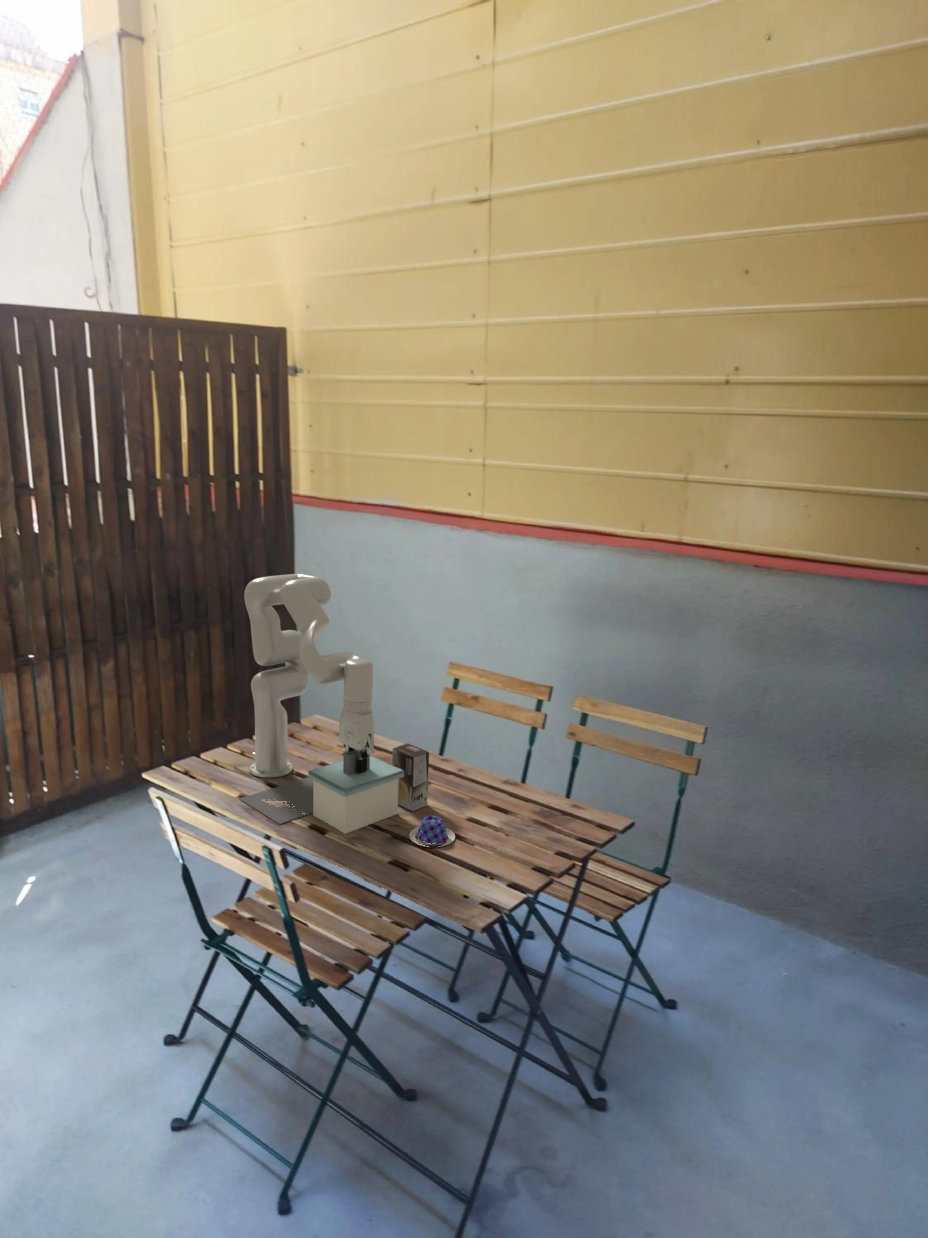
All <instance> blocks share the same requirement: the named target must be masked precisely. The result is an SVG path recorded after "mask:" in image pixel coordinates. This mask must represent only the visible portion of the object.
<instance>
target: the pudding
mask: <svg viewBox="0 0 928 1238" xmlns="http://www.w3.org/2000/svg"><path fill="white" fill-rule="evenodd" d="M417 831H418V833H417V835H416V836H417V837H416V839H418V838H419V840H420V841H422V842H423V841H425V842H426V843H431V844H432V843H436V844H439V843H441V842H442V843H445V841H446V842H447V843H445V845H442V846H438V847H440V848H441V847H444V846H447V845H450V844H451V843H453V842H454V840H455V839H456V835H455V833H454V831H453V830H451V829H450V828H447V826H446V823H445V820H444V819H443V818H441V817H440V816H439V815H436V816H435V815H429V816H428V815H427V816H425V817H423V818H422V819H421V821H420V823H419V826H417V827H415V828H413V829H412V830H410V832H409V834H408V836H409V839H410V840H411V841H412V842H413V843H415V844H417V845H419V846H421V847H427V848H430V847H429V846H425V845H422V844H423V843H422V844H419V843H418V842H416V841H415V840H414V838H412V837H414V836H413V835H414V834H415V833H416V832H417ZM442 843H441V844H442ZM432 845H433V844H432ZM439 845H440V844H439ZM438 847H437V848H438Z"/></svg>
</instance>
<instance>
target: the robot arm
mask: <svg viewBox="0 0 928 1238" xmlns="http://www.w3.org/2000/svg"><path fill="white" fill-rule="evenodd" d="M243 594H244V595H243V597H244V603H245V604H244V605H245V607H246V608H245V609H246V611H247V614H248V617H249V621H250V631H251V633H250V634H251V642H252V654H253V658H254V661H255V662H256V663H257V664H258V665H260V666H263V667H264V666H265V667H269V666H275V665H279V664H284V663H285V666H281V667H276V668H271V669H265V670H263V671H262V670H261V671H260V672H258V673H257V674H255V675H254V676H253V677H252V679H251V683H250V690H251V695H252V699H253V706H254V707H253V708H254V739H255V740H254V744H255V745H254V749H255V751H254V752H252V753H251V756H252V757H253V758H254V762H253V763H252V764H251V765H250V767H249V770H250V773H251V774H252V775H253V776H256V777H260V778H266V779H267V778H268V779H269V778H270V779H271V778H273V779H274V778H280V777H284V776H286V775H288V774H290V773H291V772H292V771H293V763H291V762H290V761H289V760H288V712H287V710H286V709H285V707H284V706H283V704H282V703H281V701H282V700H286V699H289V698H294V697H298V696H302V695H303V694H305V693H306V692H307V691H308V689H309V680H310V679H309V676H310V678H311V680H313V681H314V683H316V684H319V685H327V684H328V685H329V684H332V683H338V682H340V681H341V682H343V706H342V708H341V712H340V716H339V724H338V725H339V726H338V741H339V742H340V743H341V744H343V747H344V753H346V752H350V751H353V750H358V759H357V760H356V773H358V774H359V773H363V772H366V771H367V758H369V756H370V755H373V754H375V753H376V751H375V747H374V744H375V724H374V723H375V722H374V716H373V715H374V714H373V712H372V711H373V685H374V684H373V683H374V682H373V680H374V676H373V675H374V665H373V662H372V661H371V660H370V659H367V658H364V657H361V656H359V655H358V654H357V653H355V652H353V651H341V652H336V653H330V654H325V655H321V654H320V652H319V650H318V649H317V647H316V645H315V642H314V639H316V638H318V637H319V636H321V634H323V633H324V632H325V630H326V629H327V628H328V626H329V624H330V619H329V616H328V615H327V613H326V611H325V610H324V608H323V606H325V605H328V603H329V602H330V600H331V596H332V595H331V594H332V593H331V588H330V586H329V585H328V583H327V581H325V579H323V578H321V577H319V576H315V575H314V576H313V575H309V574H308V575H307V574H302V573H291V574H280V575H269V576H268V575H267V576H262V577H258V578H255V579H253V580H251V581H249V582H248V584H247V585H246V587H245V590H244V593H243ZM277 605H278V606H279V605H284V607H285V608H286V610H287V613H289V615H290V616H291V618H292V620H293V622H294V623H295V624H296V627H297V628H298V629H299V631H300V632H299V631H297V630H294V629H286V630H282V628H281V620H280V616H279V614H278V613H277V611H276V610H275V608H274V607H273V606H277ZM362 750H364V752H363V753H362Z"/></svg>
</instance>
